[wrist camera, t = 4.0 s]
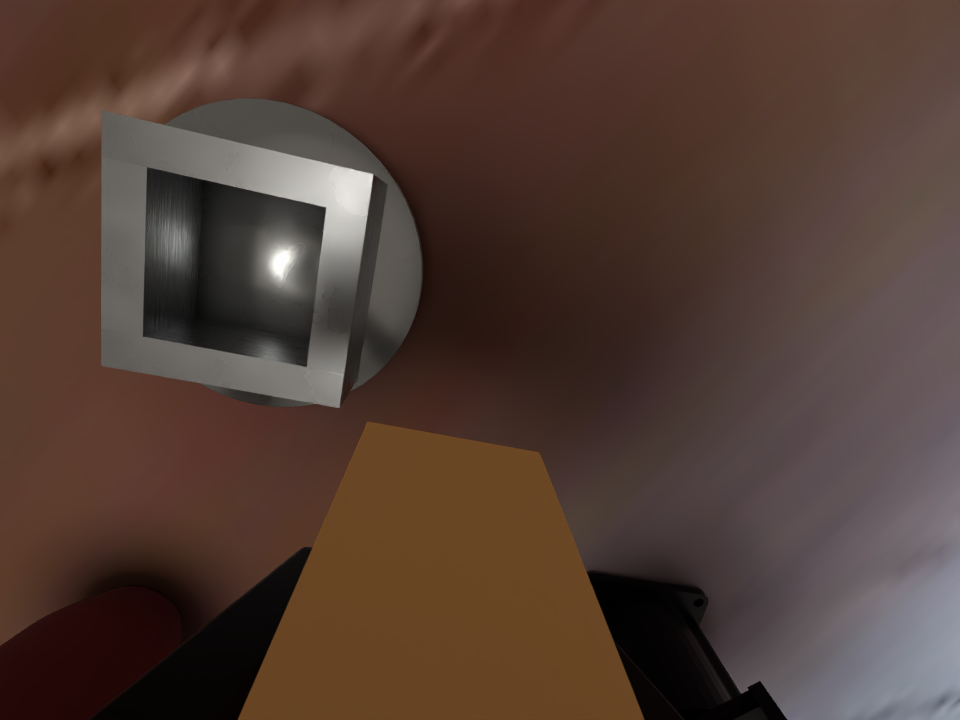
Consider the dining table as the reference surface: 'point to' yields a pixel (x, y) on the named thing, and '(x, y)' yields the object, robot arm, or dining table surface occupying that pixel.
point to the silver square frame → (253, 253)
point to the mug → (86, 654)
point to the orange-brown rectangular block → (442, 597)
